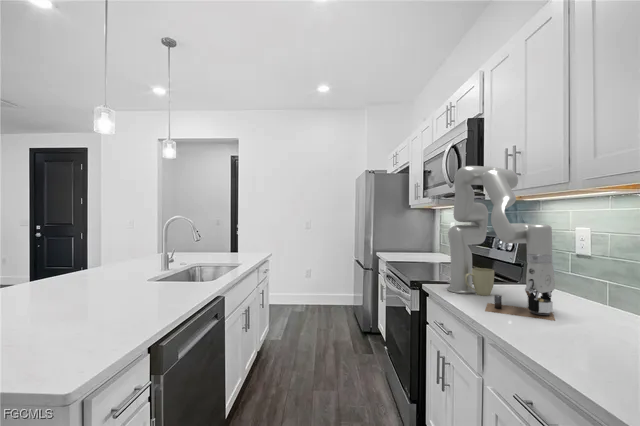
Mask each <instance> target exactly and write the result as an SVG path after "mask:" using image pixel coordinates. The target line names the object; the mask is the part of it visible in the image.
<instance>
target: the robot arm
mask: <svg viewBox="0 0 640 426" xmlns="http://www.w3.org/2000/svg"><path fill="white" fill-rule="evenodd" d="M455 172H456V173H455V174H454V178H453V182H454V183H453V184H454V203H453V214H452V215H453V219H454V220H455V221H456V222H459V223H470V224H456V225H453V226H451V227H450V228H449V229H448V233H447V235H448V243H449V250H450V253H449V254H450V279H449V280H448V281H447V284H449V286H447V291H449V292H451V293H455V294H461V295H462V294H463V295H464V294H469V295H470V294H476V291H474V290H475V288H474V287H473V277H472V276H471V275H468V276H467V282H468V284H469V285H470V286H471V287H472V288H473V289H474V290H473V289H471V288H470V287H469V286H468V285H467V284H466V282H465V276H466V274H468V273H470V274H472V269H473V254H472V250H471V248H470V247H469V245H470V246H471V245H472V246H473V245H481V244H483V243H484V242H485V241H486V238H487V232H488V224H489V223H488V222H489V210H488V208H487V206H486V205H485V204H484V203H483V202H475V196H476V195H475V191H474V188H473V187H472V186H473V185H474V186H483V187H484V189H485V191H486V194H487V196H488V197H489V199H490V201H491V203H492V205H493V207H492V210H491V214H490V223H491V226H492V227H493V230H494V233H495V234H496V236H497V237H498V239H499V240H500V241H501V242H502V243H504V244H526V263H527V265H526V274H525V275H526V276H525V283H526V284H525V285H526V287H525V288H524V291H525V293H526V296H527V300H528V299H529V310H531V311H535V312H539V300H538V298H543V299H547V300H550V301H552V292H553V291H554V290H555V289H556V285H555V284H556V283H555V272H554V266H553V230H552V227H551V225H550V224H533V223H532V224H531V223H526V222H525V223H519V222H518V223H510V221H509V219H508V217H507V215H506V209H507V208H510V207H511V206H513V205H514V204H515V203H516V201H517V197H516V195H515V193H514V192H513V190H514V188H516V187H517V186H518V183H519V176H518V175H517V173H516V172H515V171H514V170H513V169H512V170H511V169H505V168H501V167H495V166H487V165H486V166H481V165H466V166H461V167H460V168H458V170H457V171H455ZM540 294H541V295H540ZM539 295H540V297H539Z"/></svg>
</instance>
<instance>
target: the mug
mask: <svg viewBox="0 0 640 426" xmlns="http://www.w3.org/2000/svg"><path fill="white" fill-rule="evenodd" d="M468 275H471V276H472V287H471V286H470V285H469V284H468V282H467V276H468ZM465 282H466V284H467V285H468V286H469V287H470V288H471V289H473V288H474V289H475V290H474V289H473V290H474V291H476V292H475V294H476V296H477V295H478V296H483V297H484V296H485V297H488V296H491V295H492V291H493V288H494V283H495V270H494V269H492V268H483V267H481V268H480V267H476V268H472V274H470V273H468V274H466V276H465Z"/></svg>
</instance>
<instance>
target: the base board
mask: <svg viewBox="0 0 640 426" xmlns="http://www.w3.org/2000/svg"><path fill="white" fill-rule="evenodd" d="M484 312H487V313H495V314H502V315H503V314H504V315H510V316H517V317H524V318H525V317H526V318H532V319H540V320H547V321H554V322H555V321H556V318H555V316H554V312H550V313H549V316H538V315H534V314H531V313H530V310H529V309H528V307H523V306H514V305H507V304H502V309H495V308H494V303H491V302H487V304H486V306H485V309H484Z"/></svg>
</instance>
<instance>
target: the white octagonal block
mask: <svg viewBox="0 0 640 426" xmlns="http://www.w3.org/2000/svg"><path fill="white" fill-rule="evenodd" d="M542 299H543V298H542ZM543 300H544V302H542V301H539V312H540V313H550V312H553V307H554V306H553V301H552V300H551V301H550V300H547V299H543ZM527 308H528V309H529V299H528V298H527ZM553 313H554V312H553Z"/></svg>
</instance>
